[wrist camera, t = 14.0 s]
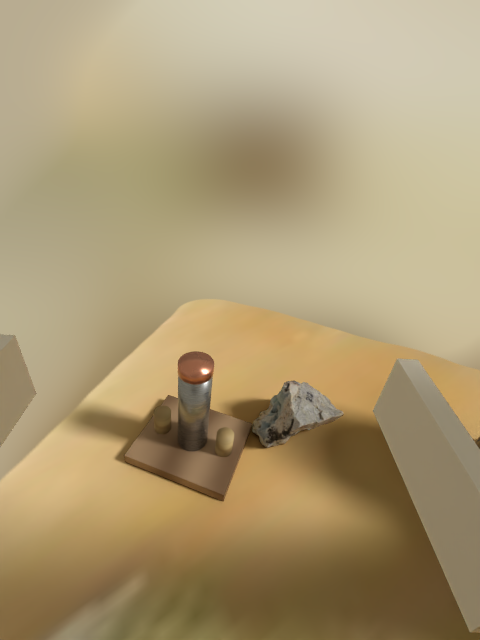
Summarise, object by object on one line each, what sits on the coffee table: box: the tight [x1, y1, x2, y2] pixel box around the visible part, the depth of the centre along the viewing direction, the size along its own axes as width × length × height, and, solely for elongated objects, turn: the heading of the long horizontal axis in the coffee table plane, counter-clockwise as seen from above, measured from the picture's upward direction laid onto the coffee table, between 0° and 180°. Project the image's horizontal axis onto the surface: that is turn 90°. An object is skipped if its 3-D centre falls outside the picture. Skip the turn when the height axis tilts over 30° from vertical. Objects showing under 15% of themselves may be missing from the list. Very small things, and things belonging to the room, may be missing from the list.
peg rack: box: [124, 395, 252, 501], centre depth 39 cm, size 12×10×4 cm
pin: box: [178, 352, 214, 452], centre depth 36 cm, size 4×4×12 cm
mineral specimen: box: [252, 381, 344, 448], centre depth 43 cm, size 10×8×10 cm
